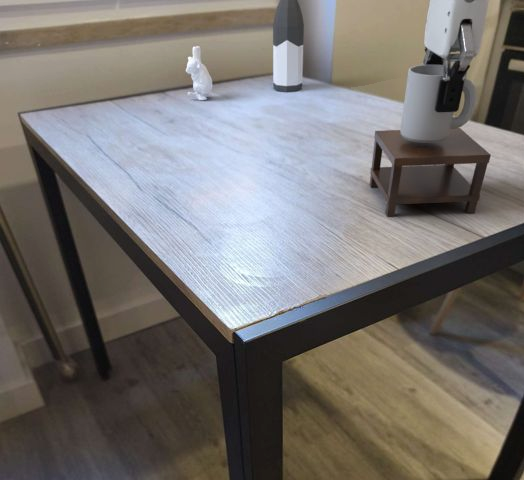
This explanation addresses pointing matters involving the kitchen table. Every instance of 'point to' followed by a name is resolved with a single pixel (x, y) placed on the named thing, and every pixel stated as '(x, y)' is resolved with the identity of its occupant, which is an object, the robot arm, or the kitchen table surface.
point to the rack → (427, 170)
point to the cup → (431, 106)
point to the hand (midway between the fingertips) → (437, 103)
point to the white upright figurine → (199, 76)
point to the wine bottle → (288, 46)
